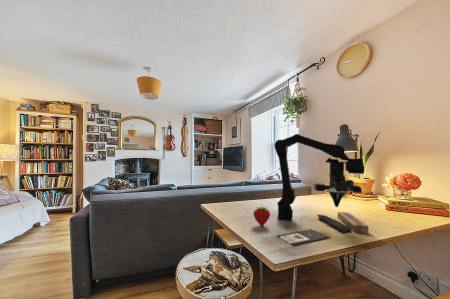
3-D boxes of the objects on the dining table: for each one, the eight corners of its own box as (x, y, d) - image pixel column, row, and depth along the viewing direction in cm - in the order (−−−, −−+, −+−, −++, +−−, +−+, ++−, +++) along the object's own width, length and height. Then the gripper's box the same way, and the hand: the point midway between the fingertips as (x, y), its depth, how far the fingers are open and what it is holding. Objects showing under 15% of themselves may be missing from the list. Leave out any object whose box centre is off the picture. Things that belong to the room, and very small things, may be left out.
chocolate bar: (329, 236, 79) (293, 244, 72) (329, 239, 79) (293, 247, 72) (311, 229, 88) (277, 235, 80) (311, 231, 88) (277, 237, 80)
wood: (359, 234, 85) (359, 227, 85) (342, 234, 84) (342, 227, 84) (327, 218, 107) (327, 212, 107) (314, 218, 106) (314, 212, 106)
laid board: (353, 232, 86) (353, 224, 86) (337, 217, 106) (337, 211, 106) (368, 233, 85) (368, 225, 85) (349, 218, 105) (349, 212, 105)
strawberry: (251, 224, 94) (251, 202, 94) (266, 223, 95) (266, 201, 96) (256, 228, 88) (256, 205, 88) (272, 227, 90) (272, 204, 90)
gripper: (319, 173, 88) (319, 210, 88) (367, 175, 85) (367, 213, 84) (313, 171, 99) (313, 203, 99) (356, 172, 96) (356, 206, 95)
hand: (336, 206), depth 94 cm, fingers closed
